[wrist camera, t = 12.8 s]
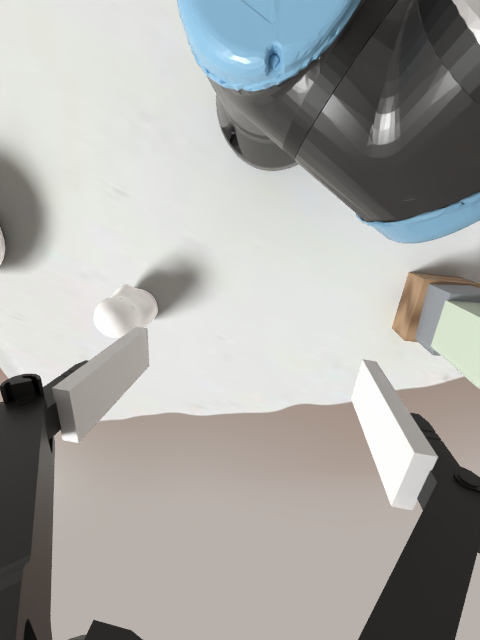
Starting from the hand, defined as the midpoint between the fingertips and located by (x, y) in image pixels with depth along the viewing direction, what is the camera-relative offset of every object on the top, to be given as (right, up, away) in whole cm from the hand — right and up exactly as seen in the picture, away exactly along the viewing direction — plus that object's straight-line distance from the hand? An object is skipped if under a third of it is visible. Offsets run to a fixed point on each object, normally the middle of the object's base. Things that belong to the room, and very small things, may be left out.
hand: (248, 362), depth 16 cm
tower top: (+27, +4, +20) cm, 34 cm away
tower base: (+28, +5, +25) cm, 38 cm away
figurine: (-18, +6, +32) cm, 37 cm away
